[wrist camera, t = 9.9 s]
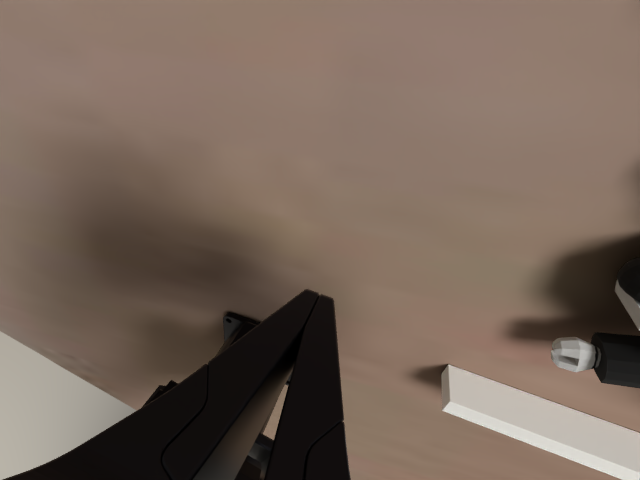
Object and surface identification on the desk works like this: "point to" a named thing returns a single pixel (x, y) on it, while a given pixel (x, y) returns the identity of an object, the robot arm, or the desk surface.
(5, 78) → the desk surface
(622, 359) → the robot toy
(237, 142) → the desk surface
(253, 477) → the robot arm
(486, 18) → the desk surface
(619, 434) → the frame
